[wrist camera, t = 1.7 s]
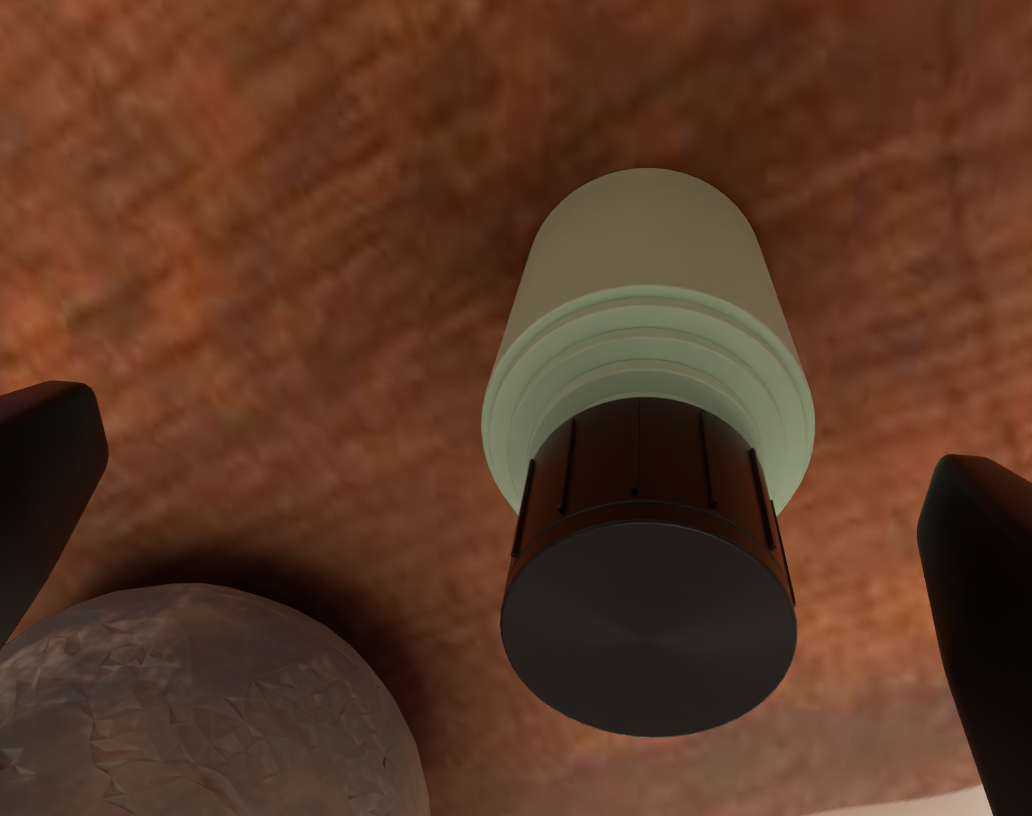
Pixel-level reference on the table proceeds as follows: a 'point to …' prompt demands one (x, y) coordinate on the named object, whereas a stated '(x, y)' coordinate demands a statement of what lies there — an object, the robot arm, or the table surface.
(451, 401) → the table surface
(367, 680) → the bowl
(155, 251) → the table surface
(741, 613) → the cap
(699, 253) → the bottle
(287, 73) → the table surface
